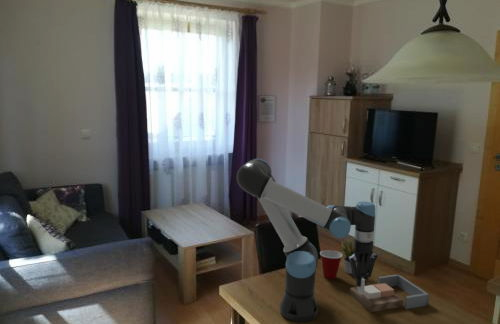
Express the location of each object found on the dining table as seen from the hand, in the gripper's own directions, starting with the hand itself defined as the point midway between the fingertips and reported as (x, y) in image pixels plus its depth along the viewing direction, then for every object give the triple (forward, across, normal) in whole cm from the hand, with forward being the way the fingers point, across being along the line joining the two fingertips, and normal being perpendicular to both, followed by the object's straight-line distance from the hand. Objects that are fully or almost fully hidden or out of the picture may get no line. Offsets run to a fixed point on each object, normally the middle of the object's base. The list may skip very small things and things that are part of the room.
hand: (360, 292), depth 162 cm
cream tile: (+2, +5, 0) cm, 5 cm away
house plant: (+5, +14, +28) cm, 31 cm away
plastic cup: (+5, 0, +25) cm, 26 cm away
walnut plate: (+5, +8, 0) cm, 9 cm away
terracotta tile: (+2, +12, 0) cm, 12 cm away
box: (+5, +22, +1) cm, 23 cm away
